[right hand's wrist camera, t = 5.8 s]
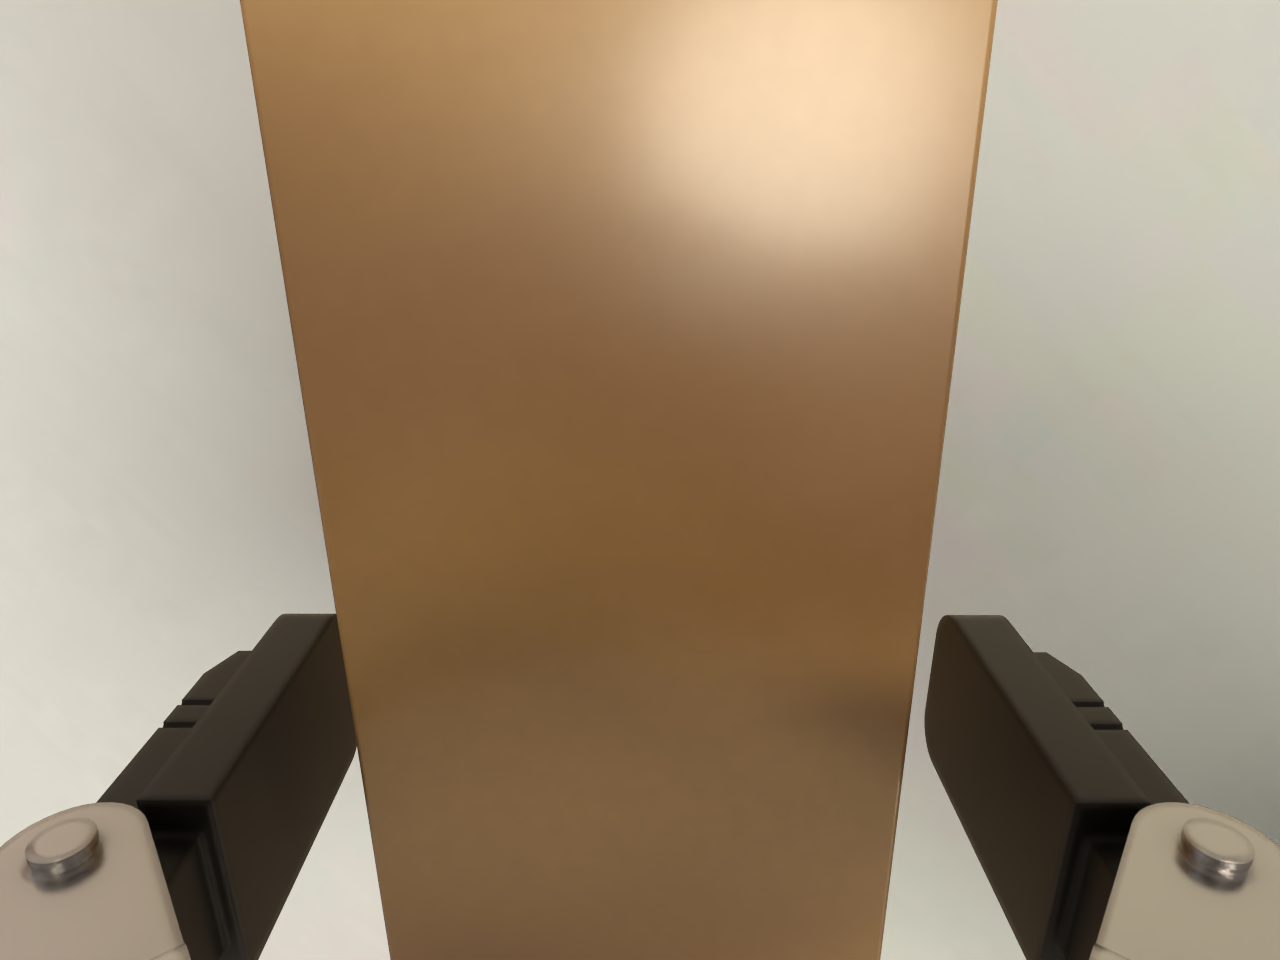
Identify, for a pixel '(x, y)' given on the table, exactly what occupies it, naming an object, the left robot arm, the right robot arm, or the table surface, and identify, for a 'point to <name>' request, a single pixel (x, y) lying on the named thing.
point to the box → (626, 445)
